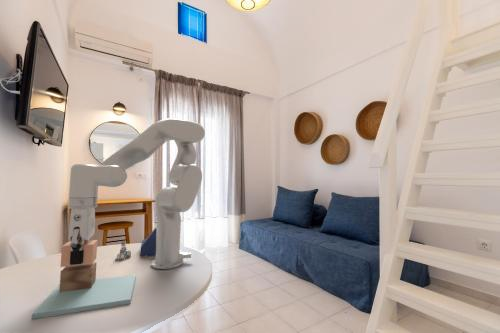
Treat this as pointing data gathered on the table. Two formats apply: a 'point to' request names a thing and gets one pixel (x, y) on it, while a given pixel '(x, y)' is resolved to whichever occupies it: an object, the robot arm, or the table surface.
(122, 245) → the miniature building cluster
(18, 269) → the table surface
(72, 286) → the walnut brick
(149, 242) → the blue angular block
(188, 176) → the robot arm
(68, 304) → the board
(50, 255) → the table surface
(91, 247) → the terracotta brick
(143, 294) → the table surface
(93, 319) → the table surface
